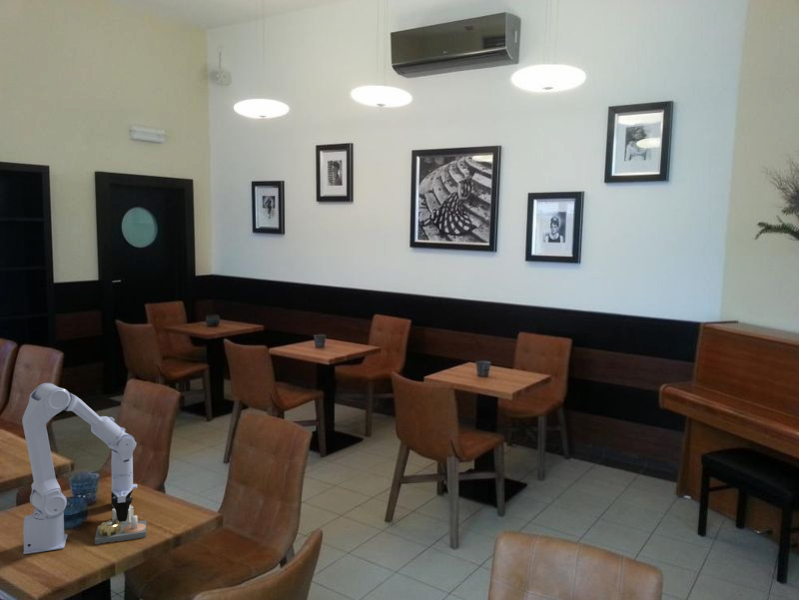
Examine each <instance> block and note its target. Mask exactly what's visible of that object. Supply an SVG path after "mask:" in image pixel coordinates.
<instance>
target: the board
mask: <svg viewBox="0 0 799 600" xmlns="http://www.w3.org/2000/svg"><path fill="white" fill-rule="evenodd" d="M142 538H147V520H138V515H137V514H136V515H134V514H133V516H132V517H131V522H129V523H122V524H121V531H118V533H117V534H112V535H111V536H107V535H103V536H100V534H98V526H97V527H96V532H95V536H94V545H95V544H96V545H101V544H100V543H103V544H107V543H106V542H110V543H116V542H115V541H117V542H123V541H129V540H134V539H135V540H136V539H142Z"/></svg>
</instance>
